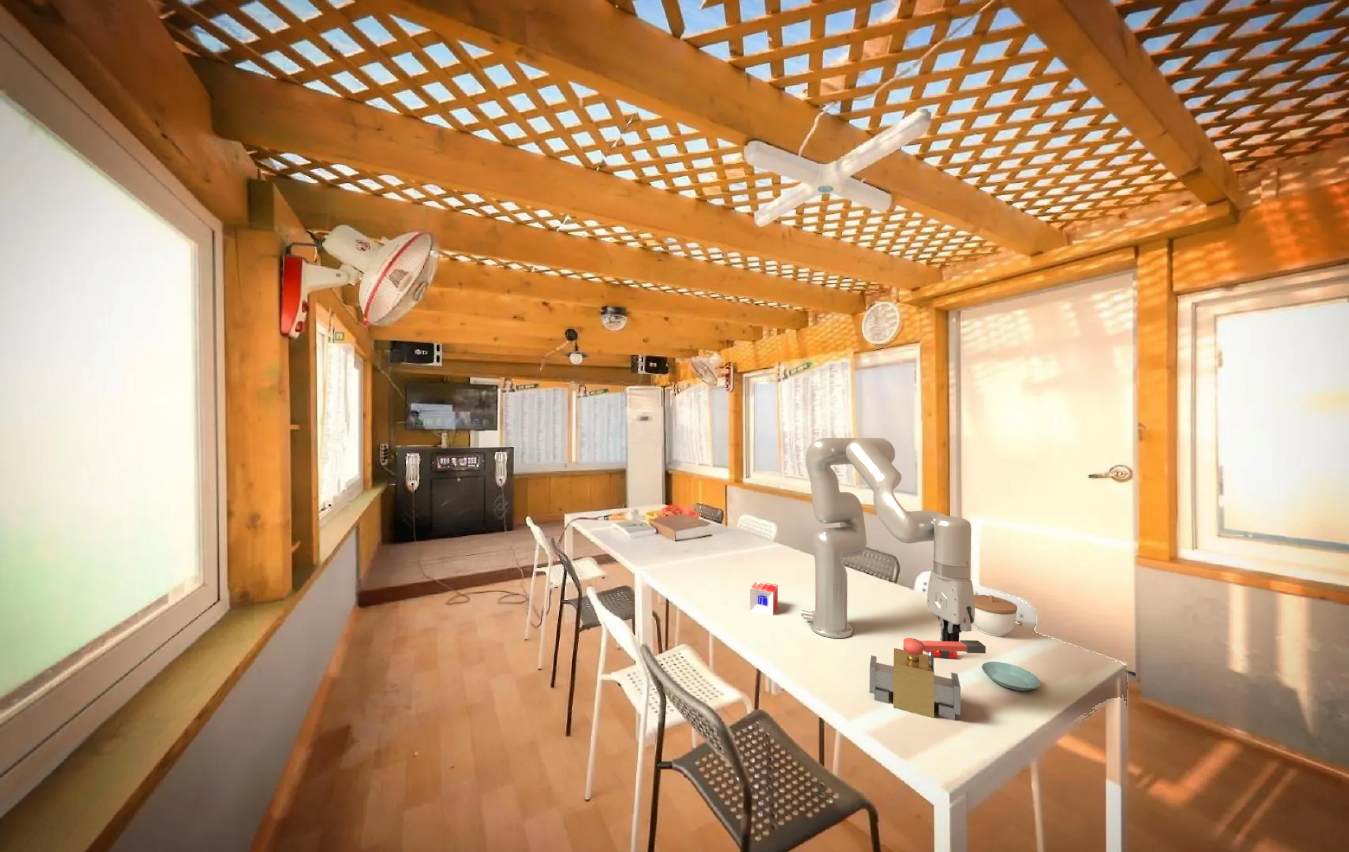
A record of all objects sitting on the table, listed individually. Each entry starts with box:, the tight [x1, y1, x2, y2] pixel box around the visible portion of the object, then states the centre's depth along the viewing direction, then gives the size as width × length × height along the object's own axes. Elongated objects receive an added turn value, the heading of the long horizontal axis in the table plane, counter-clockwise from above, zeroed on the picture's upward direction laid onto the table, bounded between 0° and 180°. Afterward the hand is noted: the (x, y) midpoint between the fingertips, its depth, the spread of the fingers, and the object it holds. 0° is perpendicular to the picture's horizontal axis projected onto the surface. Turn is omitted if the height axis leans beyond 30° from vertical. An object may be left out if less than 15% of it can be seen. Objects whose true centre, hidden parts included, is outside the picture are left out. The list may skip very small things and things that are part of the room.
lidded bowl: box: [972, 594, 1018, 637], centre depth 141 cm, size 13×13×11 cm
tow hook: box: [925, 627, 959, 660], centre depth 129 cm, size 8×13×9 cm
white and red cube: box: [749, 581, 779, 616], centre depth 157 cm, size 8×8×8 cm
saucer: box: [981, 661, 1041, 692], centre depth 113 cm, size 12×12×2 cm
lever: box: [902, 637, 987, 655], centre depth 104 cm, size 18×4×2 cm, turn 88°
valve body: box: [869, 647, 962, 721], centre depth 104 cm, size 18×8×14 cm, turn 63°
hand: (950, 647), depth 107 cm, fingers closed
